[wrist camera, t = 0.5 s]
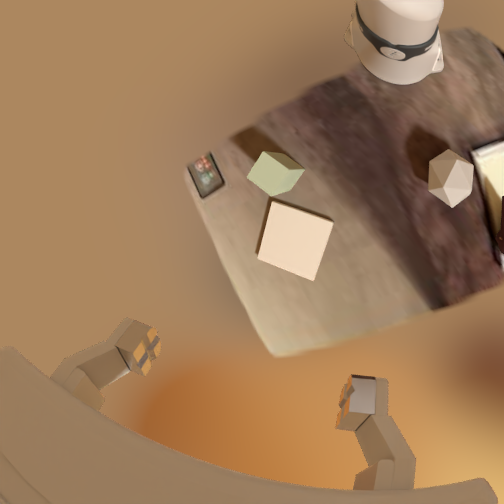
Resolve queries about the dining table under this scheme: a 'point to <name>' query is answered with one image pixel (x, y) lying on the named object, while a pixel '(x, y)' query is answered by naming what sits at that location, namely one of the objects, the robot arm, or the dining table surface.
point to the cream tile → (294, 240)
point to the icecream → (501, 230)
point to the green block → (275, 173)
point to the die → (450, 177)
